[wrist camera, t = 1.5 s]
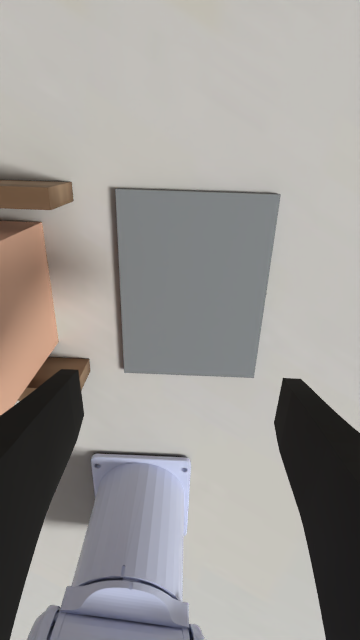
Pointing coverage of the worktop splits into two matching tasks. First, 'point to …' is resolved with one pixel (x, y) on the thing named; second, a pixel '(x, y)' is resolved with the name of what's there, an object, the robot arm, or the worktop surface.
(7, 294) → the tall wooden block
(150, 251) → the mat
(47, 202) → the rack
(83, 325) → the worktop surface
